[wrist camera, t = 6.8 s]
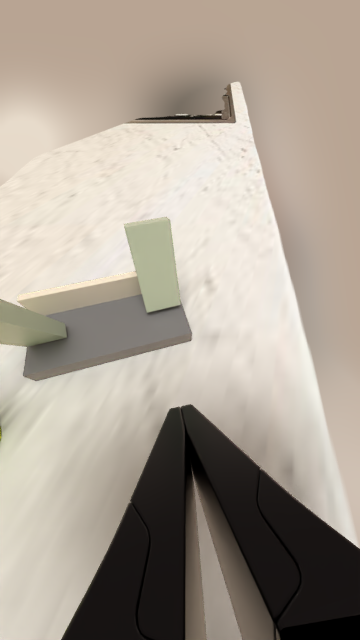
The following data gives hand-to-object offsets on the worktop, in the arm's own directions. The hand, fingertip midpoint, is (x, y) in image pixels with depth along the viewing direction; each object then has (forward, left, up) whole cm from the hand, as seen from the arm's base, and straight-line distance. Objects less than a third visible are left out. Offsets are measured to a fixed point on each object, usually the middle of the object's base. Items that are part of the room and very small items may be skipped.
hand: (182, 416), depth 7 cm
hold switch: (-2, +17, -11) cm, 21 cm away
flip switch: (+9, +9, -11) cm, 17 cm away
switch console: (+3, +13, -13) cm, 19 cm away
